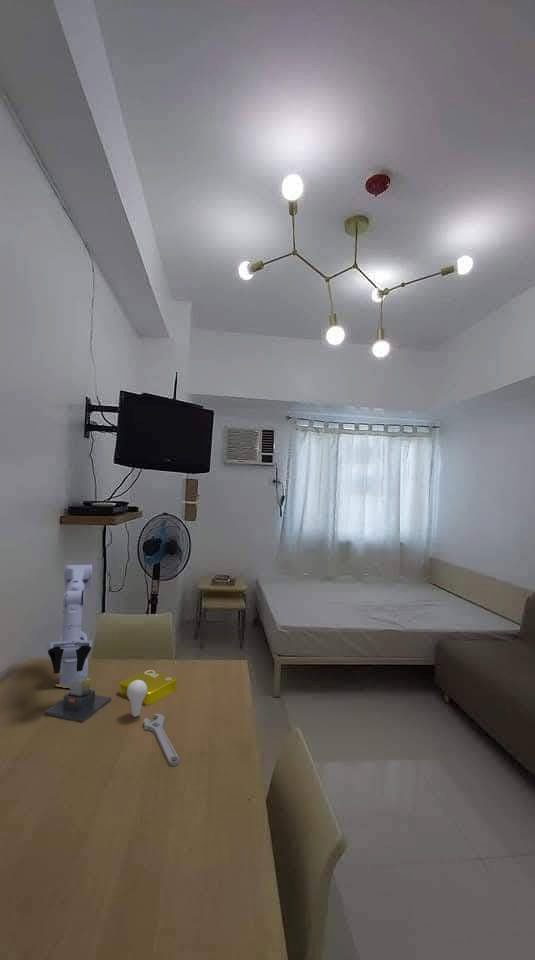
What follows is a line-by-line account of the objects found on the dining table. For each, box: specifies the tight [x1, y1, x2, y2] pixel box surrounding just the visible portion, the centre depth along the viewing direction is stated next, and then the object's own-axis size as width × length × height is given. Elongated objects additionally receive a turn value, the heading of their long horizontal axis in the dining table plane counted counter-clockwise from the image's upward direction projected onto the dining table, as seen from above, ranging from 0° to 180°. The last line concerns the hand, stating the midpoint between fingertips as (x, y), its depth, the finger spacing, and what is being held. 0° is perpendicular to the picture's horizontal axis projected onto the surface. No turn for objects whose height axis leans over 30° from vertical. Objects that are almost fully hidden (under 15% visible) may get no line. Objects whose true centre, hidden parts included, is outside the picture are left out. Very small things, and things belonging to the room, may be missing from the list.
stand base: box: [43, 688, 112, 723], centre depth 134 cm, size 14×14×5 cm
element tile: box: [118, 668, 177, 706], centre depth 147 cm, size 15×15×5 cm
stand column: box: [69, 676, 91, 698], centre depth 134 cm, size 4×4×8 cm
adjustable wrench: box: [143, 713, 180, 767], centre depth 118 cm, size 25×6×2 cm, turn 25°
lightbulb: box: [127, 680, 147, 717], centre depth 130 cm, size 6×6×11 cm
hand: (68, 672), depth 132 cm, fingers open, 7 cm apart
